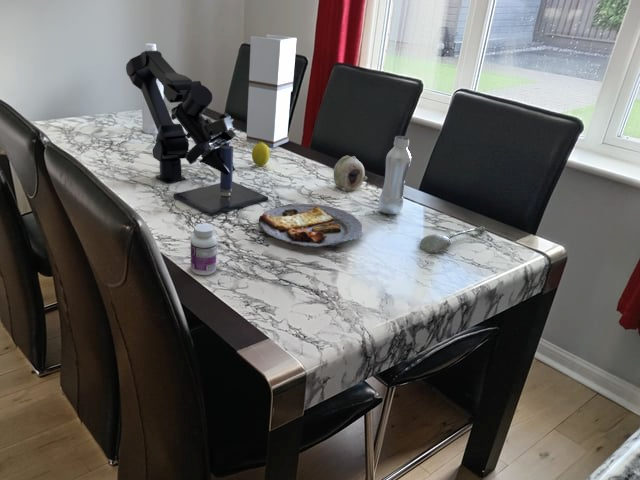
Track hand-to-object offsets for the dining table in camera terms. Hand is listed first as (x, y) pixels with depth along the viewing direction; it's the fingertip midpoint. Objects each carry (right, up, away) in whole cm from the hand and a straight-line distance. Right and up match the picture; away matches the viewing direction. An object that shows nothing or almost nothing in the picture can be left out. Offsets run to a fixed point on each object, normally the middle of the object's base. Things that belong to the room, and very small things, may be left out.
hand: (231, 171), depth 152 cm
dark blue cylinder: (-2, -5, +4) cm, 7 cm away
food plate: (+19, -17, -12) cm, 28 cm away
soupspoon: (+55, -20, -12) cm, 59 cm away
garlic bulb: (+34, -1, +18) cm, 38 cm away
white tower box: (+11, +22, +57) cm, 63 cm away
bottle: (-31, +27, +61) cm, 74 cm away
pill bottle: (-4, -27, -32) cm, 42 cm away
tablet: (-3, -6, +4) cm, 8 cm away
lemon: (+8, +8, +31) cm, 32 cm away
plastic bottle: (+42, -11, +2) cm, 43 cm away
